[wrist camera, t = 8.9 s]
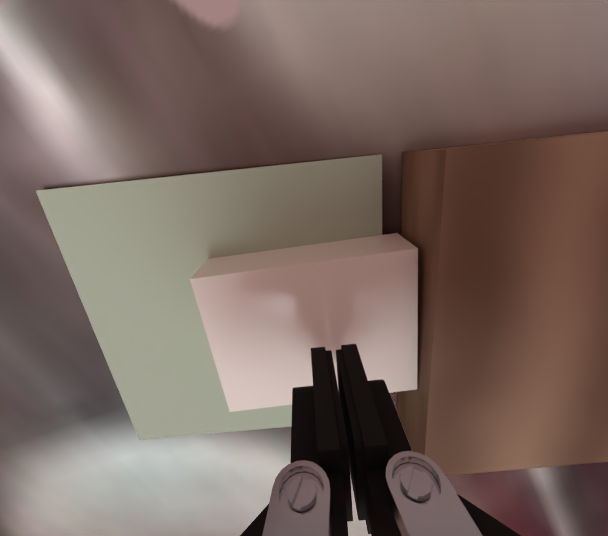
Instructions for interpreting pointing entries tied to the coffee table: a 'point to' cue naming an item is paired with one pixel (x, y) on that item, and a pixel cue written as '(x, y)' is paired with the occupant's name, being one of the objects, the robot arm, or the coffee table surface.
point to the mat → (193, 271)
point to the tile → (309, 315)
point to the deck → (509, 303)
